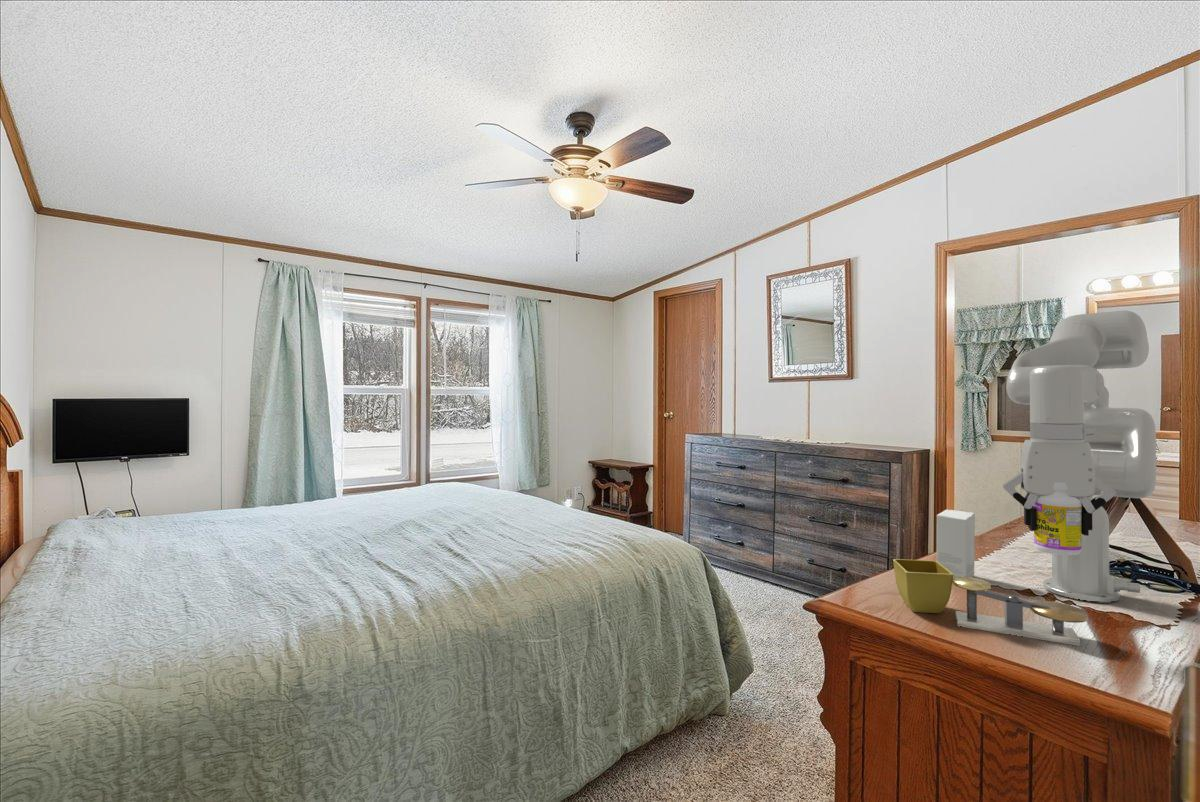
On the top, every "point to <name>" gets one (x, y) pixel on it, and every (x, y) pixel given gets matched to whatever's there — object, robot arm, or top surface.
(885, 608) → the top surface
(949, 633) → the top surface
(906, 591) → the flower pot
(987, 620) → the balance
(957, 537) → the skincare box
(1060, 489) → the supplement bottle
